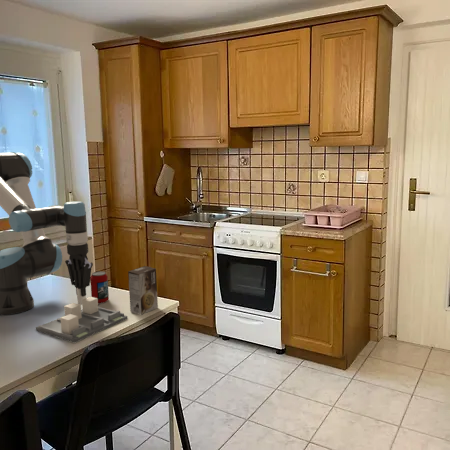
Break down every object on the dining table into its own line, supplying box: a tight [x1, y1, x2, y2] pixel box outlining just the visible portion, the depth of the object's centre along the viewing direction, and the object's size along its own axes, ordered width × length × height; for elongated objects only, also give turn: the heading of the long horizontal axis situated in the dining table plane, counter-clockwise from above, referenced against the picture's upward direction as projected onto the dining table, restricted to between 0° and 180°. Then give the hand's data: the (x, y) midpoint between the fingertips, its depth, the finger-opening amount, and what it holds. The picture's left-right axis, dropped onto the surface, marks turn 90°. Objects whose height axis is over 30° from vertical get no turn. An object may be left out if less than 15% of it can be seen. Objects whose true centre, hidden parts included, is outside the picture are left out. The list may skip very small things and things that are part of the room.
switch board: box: [35, 306, 128, 344], centre depth 161 cm, size 20×24×3 cm
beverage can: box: [90, 270, 110, 305], centre depth 183 cm, size 7×7×12 cm
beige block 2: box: [59, 314, 79, 334], centre depth 152 cm, size 4×4×5 cm
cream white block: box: [81, 296, 99, 314], centre depth 170 cm, size 4×4×5 cm
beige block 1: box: [63, 302, 82, 319], centre depth 163 cm, size 4×4×5 cm
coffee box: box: [127, 265, 159, 316], centre depth 173 cm, size 9×6×16 cm
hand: (82, 303), depth 172 cm, fingers closed
